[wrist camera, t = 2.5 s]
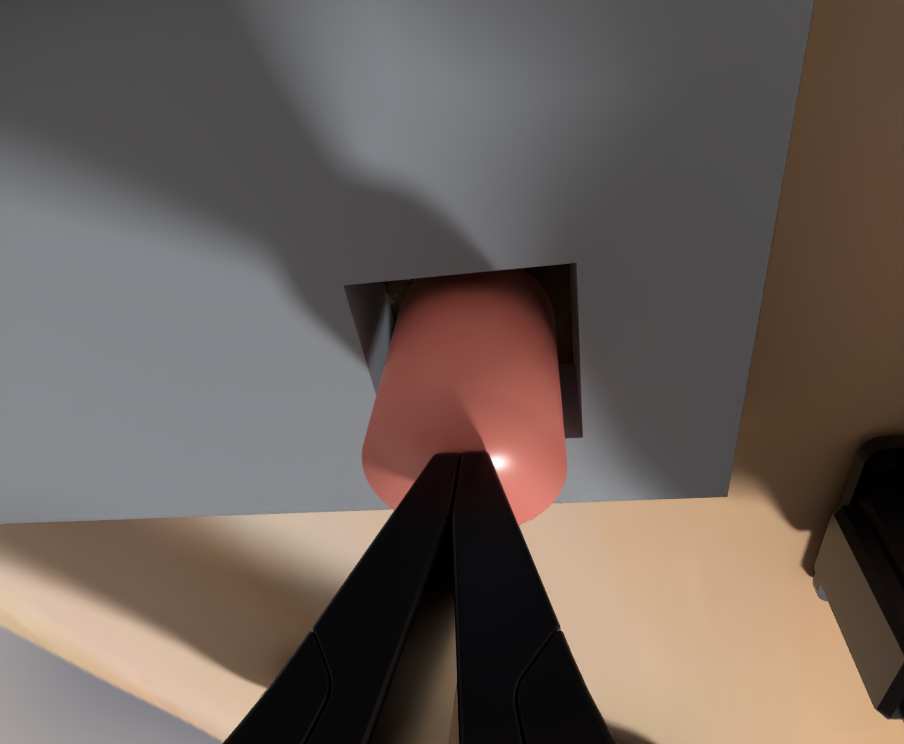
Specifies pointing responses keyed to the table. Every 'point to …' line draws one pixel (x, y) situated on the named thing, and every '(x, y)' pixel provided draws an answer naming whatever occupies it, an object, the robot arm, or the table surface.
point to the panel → (370, 232)
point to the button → (471, 388)
